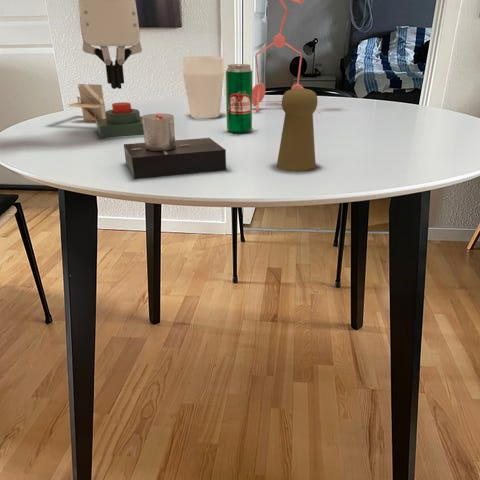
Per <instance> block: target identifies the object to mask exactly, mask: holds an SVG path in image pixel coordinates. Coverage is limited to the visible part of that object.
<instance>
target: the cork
mask: <svg viewBox="0 0 480 480" xmlns="http://www.w3.org/2000/svg"><path fill="white" fill-rule="evenodd" d="M303 88H304V87H303ZM303 88H297V89H288V90H286V91H284V93H283V95H282V98H281V101H282V102H281V108H282V110H283V112H284V119H283V125H282V129H281V130H282V132H281V136H280V144H279V149H278V155H277V161H276V167H277V168H278V169H280V170H283V171H288V172H307V171H311V170H314V169H315V168H316V149H315V148H316V147H315V131H314V112H315V111H316V110H317V107H318V96H317V93H316V92H315V91H314V90H311V89H308V88H304V89H303Z"/></svg>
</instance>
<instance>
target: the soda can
mask: <svg viewBox="0 0 480 480" xmlns="http://www.w3.org/2000/svg"><path fill="white" fill-rule="evenodd" d="M252 89H253V70H252V68H251V64H246V63H232V64H228V65H227V69H226V70H225V100H226V101H225V105H226V106H225V107H226V109H225V110H226V111H225V112H226V130H227V131H228V133H230V134H237V135H238V134H240V135H241V134H249V133H250V132H251V131H252V129H253V104H252Z"/></svg>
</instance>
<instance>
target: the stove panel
mask: <svg viewBox="0 0 480 480" xmlns="http://www.w3.org/2000/svg"><path fill="white" fill-rule="evenodd" d="M175 144H176V147H175V148H174V149H172V150H167V151H150V150H147V149H145V142H136V143H135V142H134V143H124V144H123V151H124V160H125V164H126V166H127V168H128V170H129V172H130V174H131V175H132V177H133V179H144V178H145V179H146V178H155V177H157V178H158V177H165V176H177V175H188V174H198V173H208V172H219V171H227V150H226V148H224V147H223V146H221V145H220V144H218V143H217V142H216V141H214V139H212V138H211V137H202V138H188V139H175Z"/></svg>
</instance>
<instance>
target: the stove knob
mask: <svg viewBox="0 0 480 480" xmlns="http://www.w3.org/2000/svg"><path fill="white" fill-rule="evenodd" d="M141 116H142V121H143V131H144V135H143V141H144V143H145V149H147V150H150V151H167V150H172V149H174V148H175V147H176V144H175V140H176V132H175V131H176V130H175V118H174V117H175V115H173V114H171V113H163V112H161V113H149V114H143V115H141Z"/></svg>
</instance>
